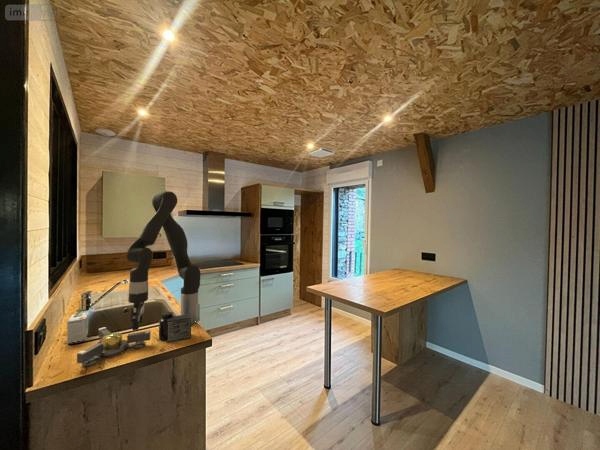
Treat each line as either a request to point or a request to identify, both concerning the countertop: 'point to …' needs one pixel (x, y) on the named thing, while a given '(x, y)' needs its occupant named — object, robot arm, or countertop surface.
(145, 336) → the knob
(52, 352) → the countertop surface
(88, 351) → the knob
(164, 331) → the supplement bottle
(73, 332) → the light bulb box
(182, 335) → the small box
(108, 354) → the tribrach
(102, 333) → the knob side
